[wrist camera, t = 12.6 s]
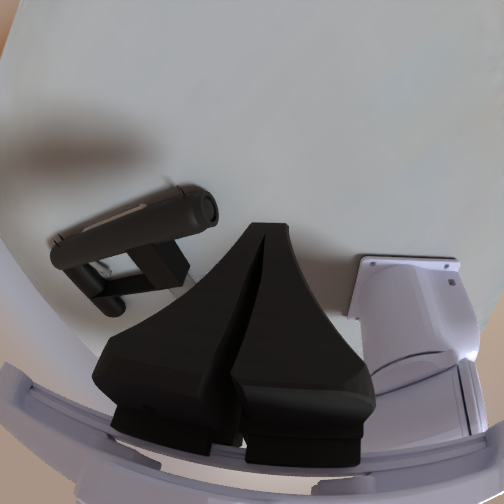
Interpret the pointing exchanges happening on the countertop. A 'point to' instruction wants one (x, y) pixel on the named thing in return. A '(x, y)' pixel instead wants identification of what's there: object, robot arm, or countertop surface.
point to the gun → (136, 249)
